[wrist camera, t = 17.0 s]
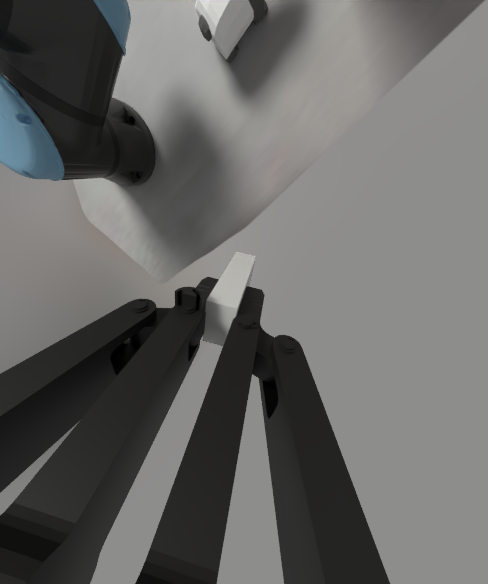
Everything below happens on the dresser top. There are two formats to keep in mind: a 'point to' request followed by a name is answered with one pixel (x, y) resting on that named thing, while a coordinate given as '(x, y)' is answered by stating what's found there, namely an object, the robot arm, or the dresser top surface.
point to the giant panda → (228, 21)
